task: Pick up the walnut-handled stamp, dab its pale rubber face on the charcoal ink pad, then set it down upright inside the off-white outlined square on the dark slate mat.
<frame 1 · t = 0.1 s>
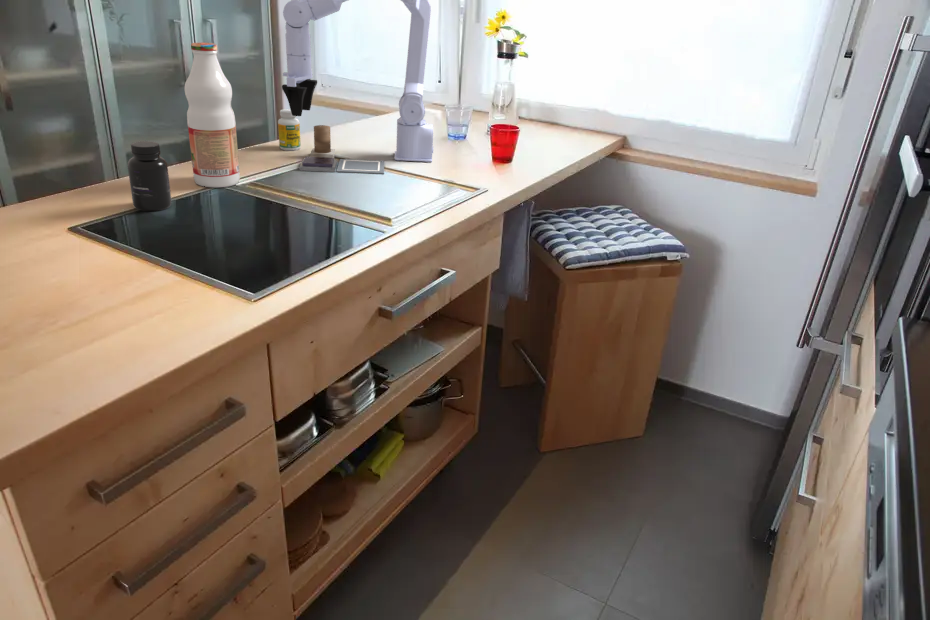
hand: (301, 112, 169), 10 cm above the worktop, fingers open, 7 cm apart
supplement bottle 2: (290, 149, 177), on the worktop
fruit juice: (217, 182, 147), on the worktop
stamp: (322, 157, 172), on the worktop
slate mat: (361, 166, 166), on the worktop
supplement bottle: (153, 207, 131), on the worktop
ink pad: (318, 167, 163), on the worktop
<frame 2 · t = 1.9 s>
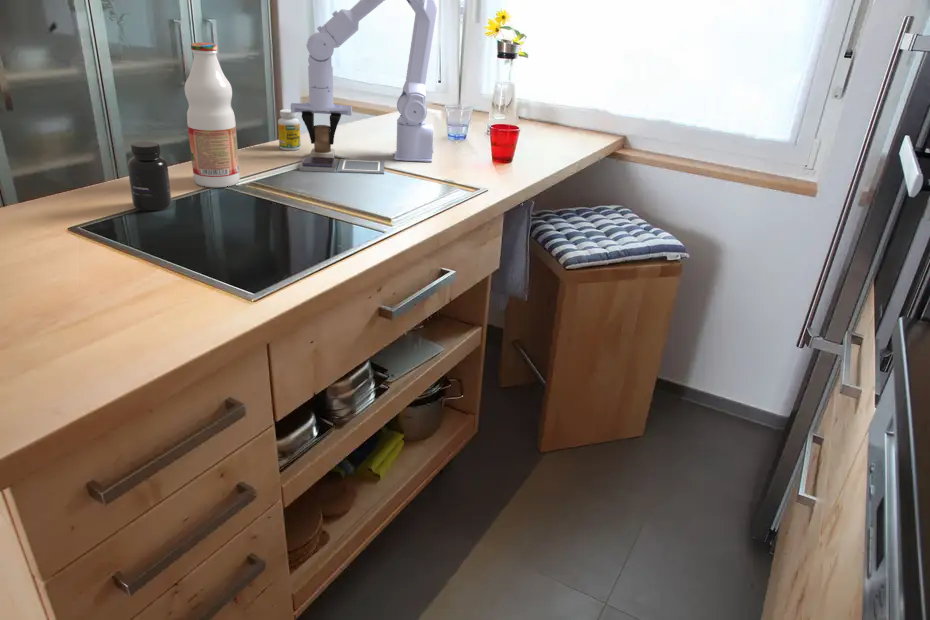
hand: (322, 143, 170), 3 cm above the worktop, fingers closed on stamp, 4 cm apart
stamp: (322, 156, 172), on the worktop, touching gripper
everything else where it was.
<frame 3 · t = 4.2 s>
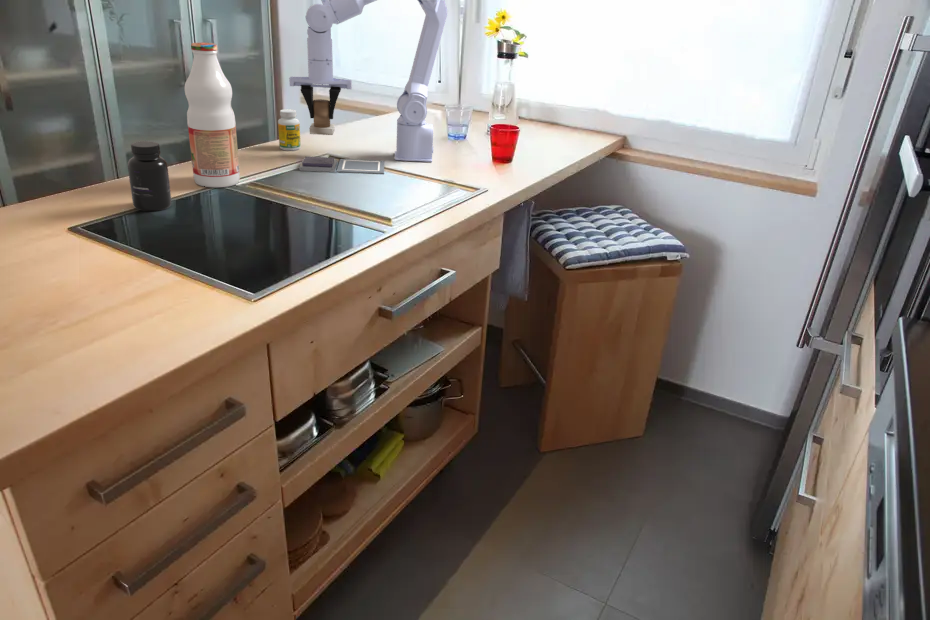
hand: (321, 118, 167), 10 cm above the worktop, fingers closed on stamp, 4 cm apart
stamp: (322, 132, 169), point 6 cm above the worktop, touching gripper
everything else where it was.
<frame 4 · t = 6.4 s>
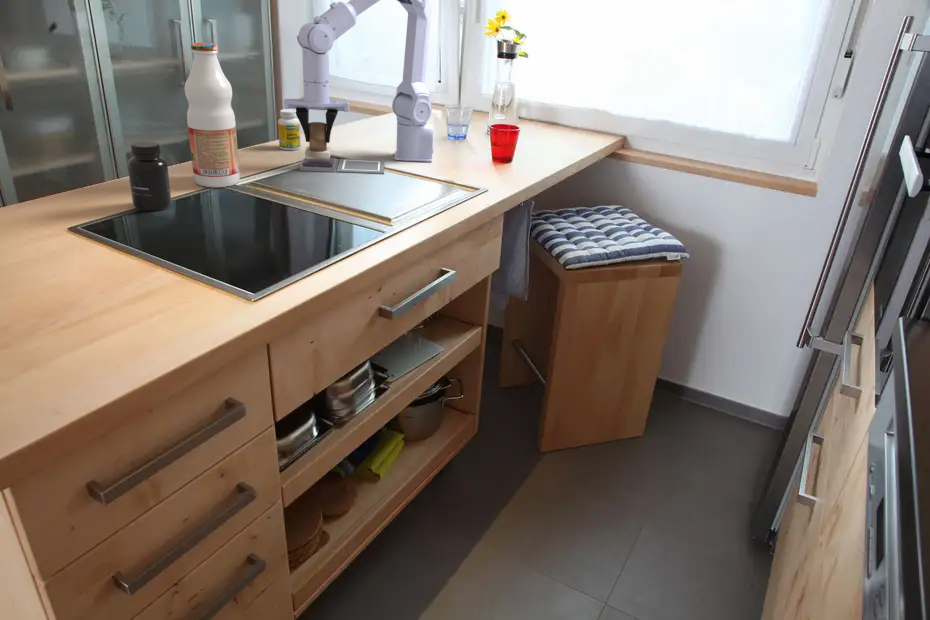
hand: (317, 141, 160), 6 cm above the worktop, fingers closed on stamp, 4 cm apart
stamp: (318, 155, 162), point 3 cm above the worktop, touching gripper
everything else where it was.
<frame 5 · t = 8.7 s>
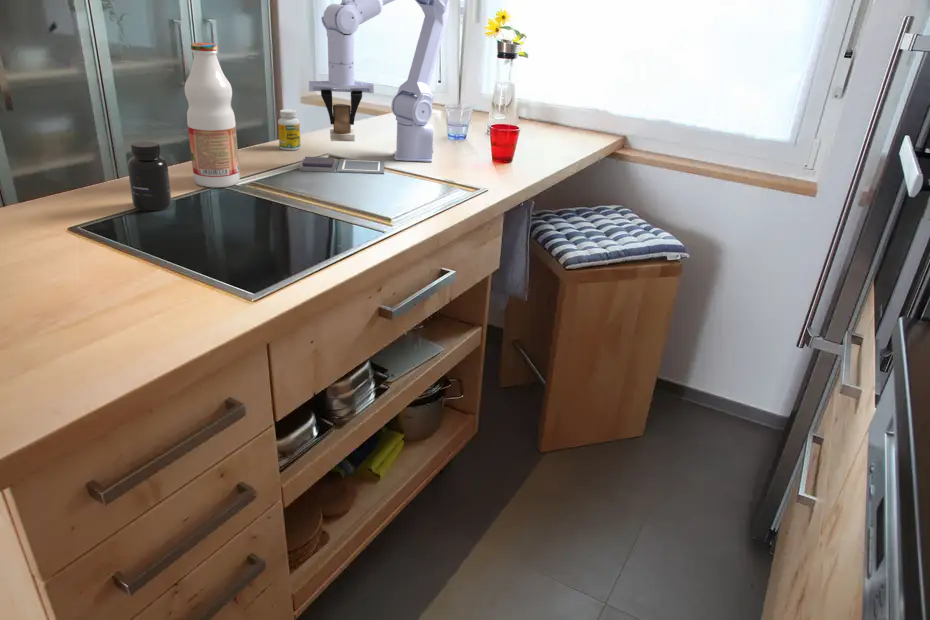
hand: (342, 123, 160), 10 cm above the worktop, fingers closed on stamp, 4 cm apart
stamp: (342, 138, 161), point 7 cm above the worktop, touching gripper
everything else where it was.
when the fingers open (5 cm above the worktop, at t = 10.9 s): stamp stays where it is, resting on slate mat.
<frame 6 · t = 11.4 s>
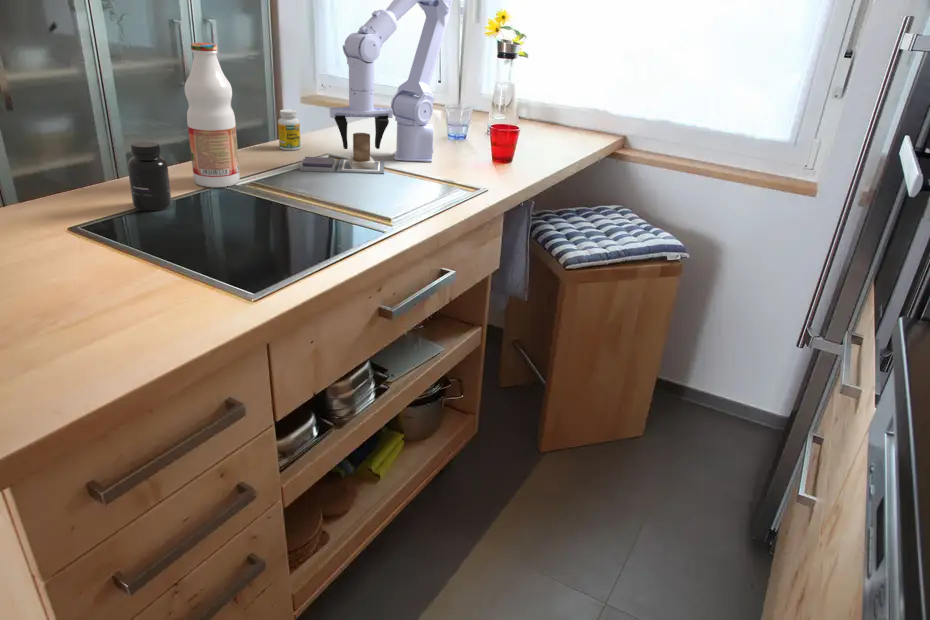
hand: (361, 148, 164), 5 cm above the worktop, fingers open, 7 cm apart
stamp: (361, 165, 166), resting on slate mat
everything else where it was.
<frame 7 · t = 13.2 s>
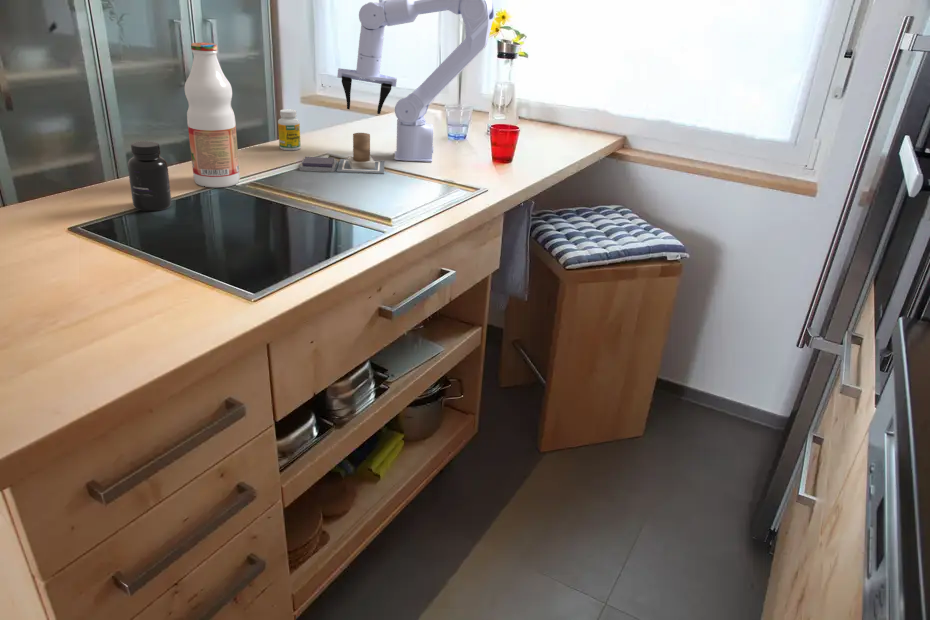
hand: (363, 110, 174), 11 cm above the worktop, fingers open, 7 cm apart
nothing on the worktop moved.
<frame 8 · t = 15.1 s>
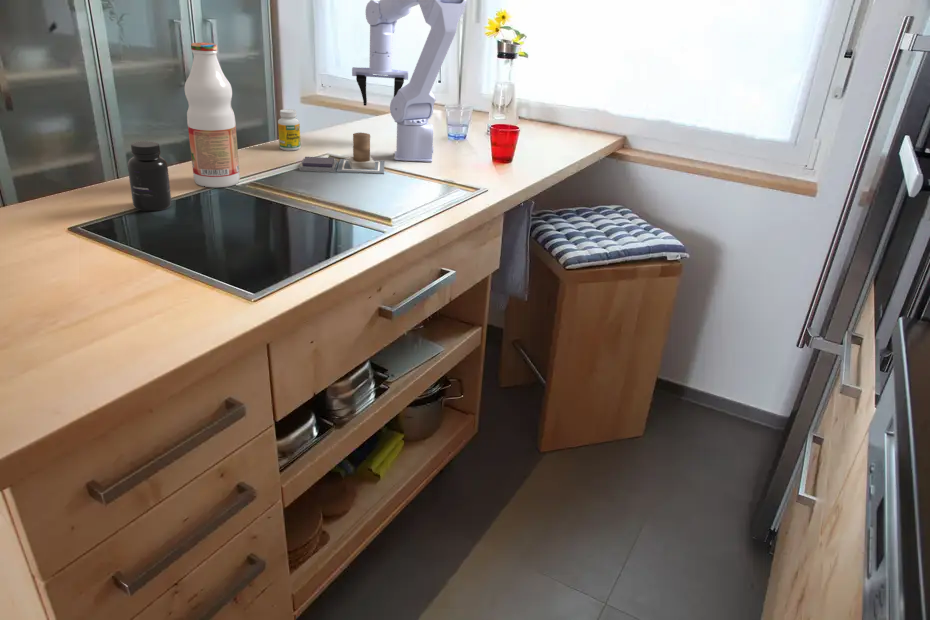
hand: (379, 105, 182), 10 cm above the worktop, fingers open, 7 cm apart
nothing on the worktop moved.
at the end: stamp 0.0 cm off-centre on the slate mat, point 0.3 cm above the slate mat's base; stamp tilted 0°; the gripper is holding nothing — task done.
